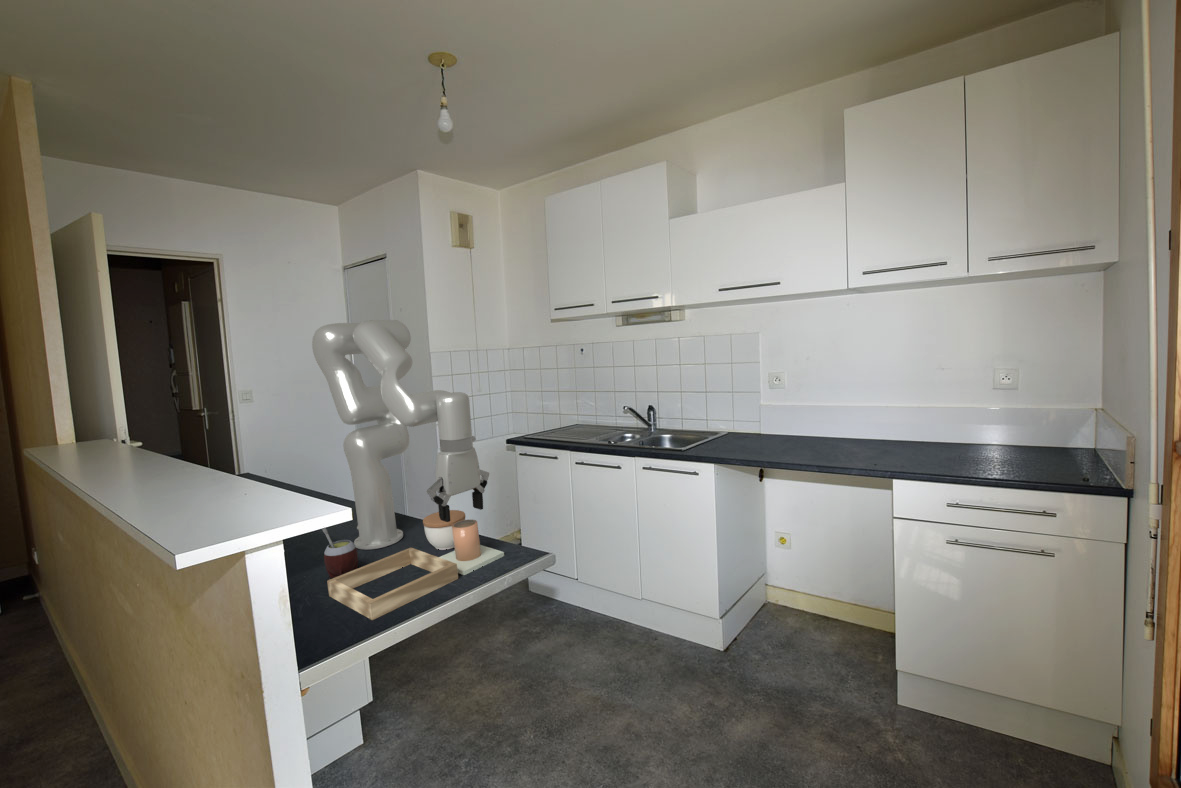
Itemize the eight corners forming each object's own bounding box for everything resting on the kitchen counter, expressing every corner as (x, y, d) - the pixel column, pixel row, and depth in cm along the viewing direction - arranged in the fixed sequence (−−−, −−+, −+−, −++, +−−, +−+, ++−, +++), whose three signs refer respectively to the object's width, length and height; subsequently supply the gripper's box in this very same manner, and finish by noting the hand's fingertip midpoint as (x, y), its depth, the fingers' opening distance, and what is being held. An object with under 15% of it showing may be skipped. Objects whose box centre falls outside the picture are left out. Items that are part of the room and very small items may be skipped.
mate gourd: (360, 567, 130) (352, 508, 129) (358, 580, 123) (350, 517, 121) (326, 574, 128) (318, 513, 126) (322, 588, 121) (313, 524, 119)
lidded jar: (457, 553, 134) (453, 517, 133) (418, 553, 137) (414, 517, 136) (474, 537, 145) (471, 503, 144) (438, 537, 147) (434, 504, 146)
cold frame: (329, 596, 116) (327, 580, 116) (412, 561, 132) (410, 547, 132) (372, 620, 105) (370, 603, 104) (458, 578, 120) (456, 563, 120)
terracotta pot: (450, 557, 130) (446, 525, 129) (470, 548, 134) (467, 517, 133) (466, 563, 126) (462, 529, 125) (486, 553, 130) (482, 521, 129)
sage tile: (433, 563, 129) (433, 559, 129) (473, 546, 139) (472, 542, 138) (464, 575, 122) (463, 571, 122) (504, 555, 131) (503, 552, 131)
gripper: (475, 436, 136) (480, 501, 138) (415, 450, 123) (421, 522, 125) (495, 439, 131) (500, 506, 133) (434, 454, 118) (441, 529, 120)
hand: (462, 514), depth 129 cm, fingers open, 9 cm apart
